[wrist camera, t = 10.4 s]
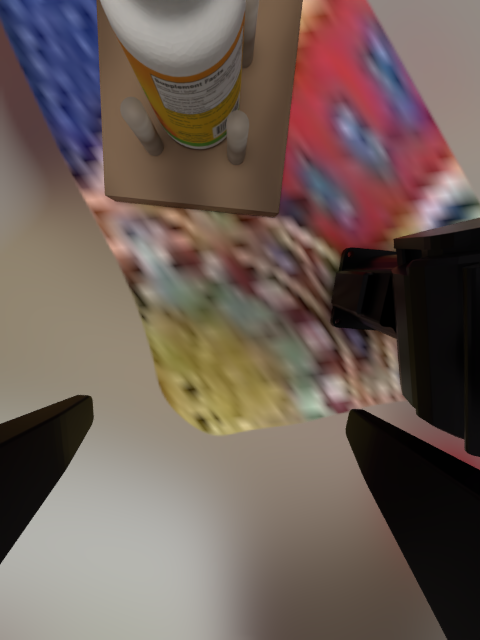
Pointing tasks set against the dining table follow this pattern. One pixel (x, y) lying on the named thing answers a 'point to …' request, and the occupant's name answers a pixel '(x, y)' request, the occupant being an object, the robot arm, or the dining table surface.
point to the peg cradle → (242, 125)
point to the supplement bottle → (184, 61)
